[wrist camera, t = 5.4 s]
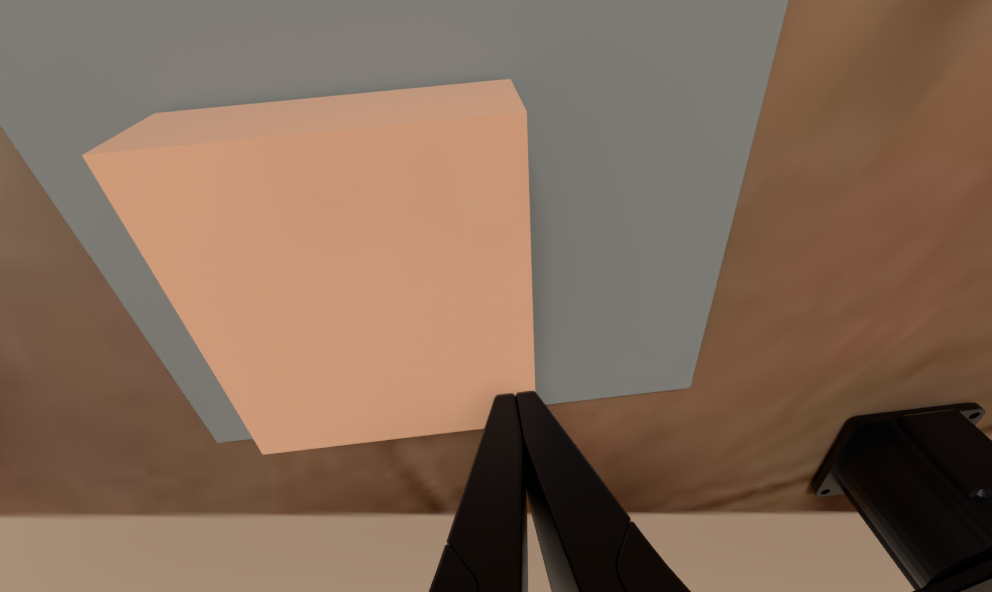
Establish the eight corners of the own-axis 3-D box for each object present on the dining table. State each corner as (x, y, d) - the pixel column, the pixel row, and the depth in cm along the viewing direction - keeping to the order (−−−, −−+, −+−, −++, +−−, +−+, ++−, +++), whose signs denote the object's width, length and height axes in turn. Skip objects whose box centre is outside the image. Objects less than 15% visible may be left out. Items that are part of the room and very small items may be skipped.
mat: (686, 380, 21) (690, 387, 20) (220, 435, 20) (217, 442, 20) (802, -94, 11) (812, -95, 11) (-80, -17, 11) (-96, -16, 10)
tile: (536, 422, 16) (262, 454, 16) (523, 355, 18) (288, 382, 18) (526, 111, 10) (81, 154, 10) (509, 77, 12) (158, 110, 12)
